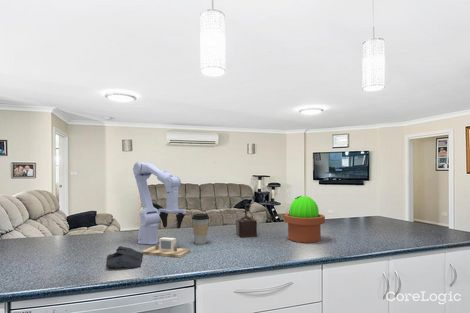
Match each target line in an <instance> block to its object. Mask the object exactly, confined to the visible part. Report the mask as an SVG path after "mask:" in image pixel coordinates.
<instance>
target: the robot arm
mask: <svg viewBox="0 0 470 313" xmlns="http://www.w3.org/2000/svg"><path fill="white" fill-rule="evenodd" d="M132 171H133V175H134V178H135V182H136V185H137V189H138V193H139V198H140V203H141V205H142V208H143V209H142V210H141V212H140V213H139V217H140V218H139V221H140V224H141V225H140V227H139V228H138V241H137V244H143V245H156V243H158V244H159V239H158V237H159V236H158V228H159V226H160V224H161V222H162V226H163V228H164V229H165V228H168V216H169V214H175V216H176V229H177V230H178V229H181V227H182V223H183V220H184V217H185V215H186V214H187V209H182V208H181V209H180V208H179V188H180V187H181V185H182V181H181V179H180V177H179V176H174V175H173V174H172V173H169V172H168V171H167V170H166V169H165V170H161V169H160V168H158V167H156V166H155V164H154V163H153V162H139V161H136V162H135V163H134V164H133V168H132ZM152 175H154V176H155V177H156V178H157V180H158V181H159V182H161V183H162V184H164V187H165V192H166V208H158V209H157V208H156V207H154V204H153V200H152V197H151V193H150V192H151V191H150V189H149V185H148V182H147V180H148V179H150V177H151V176H152Z"/></svg>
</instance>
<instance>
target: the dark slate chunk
mask: <svg viewBox="0 0 470 313" xmlns="http://www.w3.org/2000/svg"><path fill="white" fill-rule="evenodd" d="M143 256H144V254H143V253H142V251H137V250H135V249H133V248H131V247H128V246H127V247H126V246H122V245H121V246H118V247H117V249H116V252H114V253H112V254H109V255H107V256H106V267H107V268H108V269H111V270H115V269H117V270H118V269H124V270H125V269H139V268H141V267H142V263H143V258H144V257H143Z"/></svg>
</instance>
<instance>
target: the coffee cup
mask: <svg viewBox="0 0 470 313" xmlns="http://www.w3.org/2000/svg"><path fill="white" fill-rule="evenodd" d="M191 219H192V230H193V236H194V237H193V238H194V243H195V244H196V245H204V244H206V243H207V236H208V232H209V231H208V230H209V219H210V216H209V214H208V213H195V214H193V215H192V217H191Z"/></svg>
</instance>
